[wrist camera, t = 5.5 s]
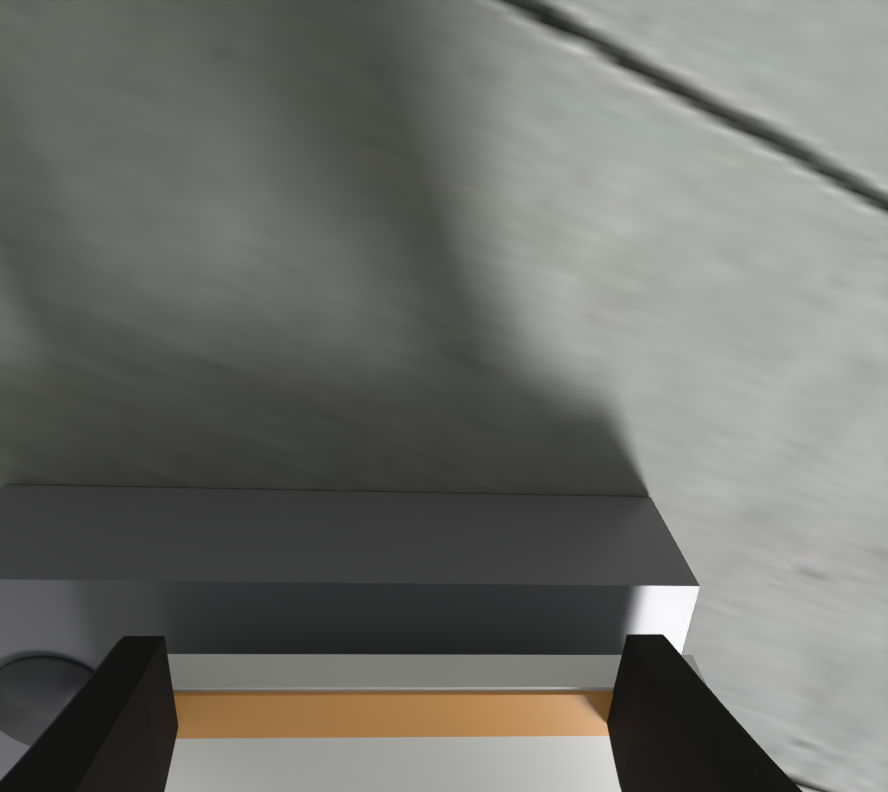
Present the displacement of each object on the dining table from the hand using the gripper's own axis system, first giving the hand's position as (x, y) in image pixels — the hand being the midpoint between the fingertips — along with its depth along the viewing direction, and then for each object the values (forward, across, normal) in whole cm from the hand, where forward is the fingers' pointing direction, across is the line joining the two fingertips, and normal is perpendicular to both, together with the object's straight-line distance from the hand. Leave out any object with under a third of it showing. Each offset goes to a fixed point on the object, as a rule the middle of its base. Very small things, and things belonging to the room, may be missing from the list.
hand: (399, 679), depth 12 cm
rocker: (+1, 0, +3) cm, 3 cm away
